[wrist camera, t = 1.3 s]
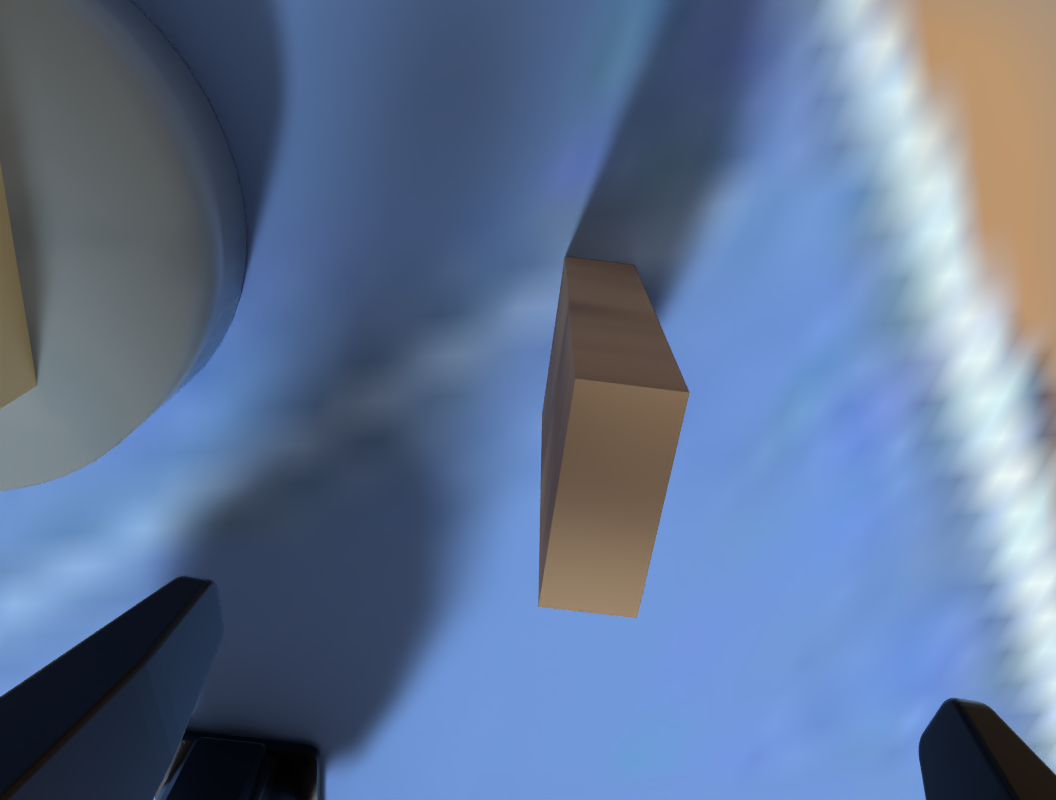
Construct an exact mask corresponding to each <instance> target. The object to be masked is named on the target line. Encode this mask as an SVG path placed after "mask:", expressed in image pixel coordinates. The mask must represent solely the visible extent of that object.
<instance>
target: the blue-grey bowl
mask: <svg viewBox="0 0 1056 800" xmlns="http://www.w3.org/2000/svg"><path fill="white" fill-rule="evenodd" d="M246 246H247V230H246V220H245V210H244V200H243V196H242V192H241V187H240V183H239V178H238V174H237V169H236V166H235V163H234V160H233V157H232V154H231V151H230V149H229V146H228V143H227V140H226V137H225V135H224V132H223V130H222V128H221V125H220V123H219V121H218V119H217V117H216V115H215V113H214V111H213V109H212V107H211V105H210V103H209V101H208V99H207V97H206V95H205V93H204V92H203V90H202V89H201V87H200V86H199V84H198V82H197V81H196V79H195V78H194V76H193V74H192V73H191V71H190V70H189V68H188V66H187V65H186V63H185V62H184V61H183V59H182V58H181V57H180V55H179V54H178V53H177V52H176V50H175V49H174V48H173V47H172V45H171V44H170V43H169V41H168V40H167V39H166V38H165V36H164V35H163V34H162V33H161V31H160V30H159V29H158V28H157V27H156V26H155V25H154V24H153V23H152V22H151V21H150V20H149V19H148V18H147V17H146V16H145V15H144V14H143V13H142V11H141V10H140V9H139V8H138V7H137V6H136V5H135V4H134V3H133V2H132V1H131V0H0V491H3V490H11V489H17V488H22V487H28V486H34V485H39V484H42V483H45V482H48V481H51V480H54V479H57V478H60V477H63V476H66V475H69V474H71V473H73V472H75V471H77V470H79V469H81V468H83V467H85V466H87V465H89V464H91V463H93V462H94V461H96V460H97V459H99V458H100V457H101V456H103V455H104V454H106V453H107V452H108V451H110V450H111V449H113V448H114V447H115V446H117V445H118V444H119V443H120V442H121V441H123V440H124V439H125V438H126V437H127V436H128V435H129V434H131V433H132V432H133V431H134V430H135V429H136V428H137V427H139V426H140V425H141V424H142V423H143V422H144V421H145V420H146V419H148V418H149V417H150V416H151V415H152V414H153V413H154V412H156V411H157V410H158V409H159V408H160V407H161V406H162V405H163V404H165V403H166V402H167V401H168V400H169V399H170V398H171V397H173V396H174V395H175V394H176V393H177V392H178V391H179V390H180V389H182V388H183V387H184V386H185V385H186V384H187V383H188V382H189V381H190V380H191V379H192V378H193V377H194V376H195V375H196V374H197V373H198V372H199V371H200V370H201V369H202V368H203V367H204V366H205V365H206V363H207V362H208V361H209V359H210V358H211V357H212V355H213V354H214V353H215V351H216V350H217V348H218V347H219V346H220V344H221V342H222V340H223V338H224V336H225V334H226V332H227V330H228V328H229V326H230V324H231V322H232V320H233V317H234V314H235V311H236V308H237V305H238V302H239V299H240V296H241V291H242V285H243V279H244V273H245V268H246Z"/></svg>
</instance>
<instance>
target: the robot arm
mask: <svg viewBox="0 0 1056 800" xmlns="http://www.w3.org/2000/svg"><path fill="white" fill-rule="evenodd" d="M223 625H224V624H223V617H222V612H221V606H220V601H219V596H218V590H217V586H216V584H215V583H214V582H213V581H212V580H210V579H206V578H200V577H194V576H180V577H177V578H175V579H174V580H172V581H171V582H169V583H168V584H166V585H165V586H163V587H162V588H160V589H159V590H157V591H156V592H154V593H153V594H151V595H150V596H148V597H147V598H146V599H144V600H143V601H141V602H140V603H138V604H137V605H135V606H134V607H132V608H131V609H129V610H128V611H126V612H125V613H123V614H122V615H120V616H119V617H117V618H116V619H115V620H113V621H112V622H110V623H109V624H107V625H106V626H104V627H103V628H101V629H100V630H98V631H97V632H95V633H94V634H92V635H91V636H89V637H88V638H86V639H85V640H84V641H82V642H81V643H79V644H78V645H76V646H75V647H73V648H72V649H70V650H69V651H67V652H66V653H64V654H63V655H61V656H60V657H58V658H57V659H56V660H54V661H53V662H51V663H50V664H48V665H47V666H45V667H44V668H42V669H41V670H39V671H38V672H36V673H35V674H33V675H32V676H30V677H29V678H27V679H26V680H25V681H23V682H22V683H20V684H19V685H17V686H16V687H14V688H13V689H11V690H10V691H8V692H7V693H5V694H4V695H2V696H1V697H0V800H153V798H154V797H155V799H156V800H320V753H319V750H318V749H317V748H316V747H314V746H312V745H309V744H301V743H292V742H283V741H274V740H264V739H255V738H246V737H237V736H228V735H219V734H209V733H200V732H191V731H185V730H186V728H187V725H188V722H189V720H190V717H191V715H192V712H193V710H194V707H195V705H196V702H197V700H198V697H199V695H200V692H201V690H202V687H203V685H204V682H205V680H206V677H207V675H208V672H209V670H210V667H211V665H212V662H213V660H214V657H215V654H216V652H217V649H218V647H219V644H220V642H221V638H222V635H223ZM919 760H920V766H921V772H922V778H923V785H924V791H925V797H926V800H1056V775H1055V774H1054V773H1053V772H1052V770H1051V769H1050V768H1049V767H1048V766H1047V765H1046V764H1045V763H1044V762H1043V761H1042V760H1041V759H1040V758H1039V757H1038V756H1037V755H1036V754H1035V753H1034V752H1033V751H1032V750H1031V749H1030V748H1029V747H1028V746H1027V745H1026V744H1025V743H1024V741H1023V740H1022V739H1021V738H1020V737H1019V736H1018V735H1017V734H1016V733H1015V732H1014V731H1013V730H1012V729H1011V728H1010V727H1009V726H1008V725H1007V724H1006V723H1005V722H1004V721H1003V720H1002V719H1001V718H1000V717H999V716H998V715H997V714H996V712H995V711H993V710H992V709H991V708H990V707H989V706H987V705H986V704H984V703H981V702H977V701H971V700H964V699H958V698H950V699H948V700H946V701H944V703H943V704H942V705H941V707H940V708H939V710H938V711H937V713H936V714H935V716H934V717H933V719H932V720H931V722H930V723H929V725H928V726H927V728H926V729H925V731H924V732H923V734H922V736H921V739H920V742H919Z"/></svg>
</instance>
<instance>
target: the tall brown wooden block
mask: <svg viewBox="0 0 1056 800" xmlns="http://www.w3.org/2000/svg"><path fill="white" fill-rule="evenodd" d="M688 397H689V390H688V388H687V386H686V384H685V381H684V379H683V377H682V374H681V372H680V370H679V367H678V365H677V363H676V360H675V358H674V356H673V353H672V351H671V349H670V346H669V344H668V342H667V339H666V337H665V335H664V332H663V330H662V328H661V325H660V323H659V321H658V318H657V316H656V314H655V311H654V309H653V307H652V304H651V302H650V300H649V298H648V295H647V293H646V291H645V288H644V286H643V284H642V281H641V279H640V277H639V274H638V272H637V270H636V267H635V265H628V264H620V263H612V262H604V261H596V260H589V259H581V258H573V257H565V260H564V267H563V274H562V280H561V287H560V294H559V301H558V308H557V315H556V322H555V329H554V336H553V343H552V350H551V356H550V363H549V370H548V377H547V384H546V391H545V398H544V405H543V412H542V447H541V499H540V551H539V604H538V607H546V608H554V609H563V610H572V611H580V612H589V613H598V614H607V615H615V616H624V617H633V618H637V616H638V611H639V607H640V603H641V598H642V594H643V590H644V586H645V581H646V577H647V573H648V568H649V564H650V560H651V556H652V551H653V547H654V543H655V538H656V534H657V530H658V525H659V521H660V517H661V513H662V508H663V504H664V500H665V495H666V491H667V487H668V482H669V478H670V474H671V470H672V465H673V461H674V457H675V452H676V448H677V444H678V439H679V435H680V431H681V427H682V422H683V418H684V414H685V409H686V405H687V401H688Z"/></svg>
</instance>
